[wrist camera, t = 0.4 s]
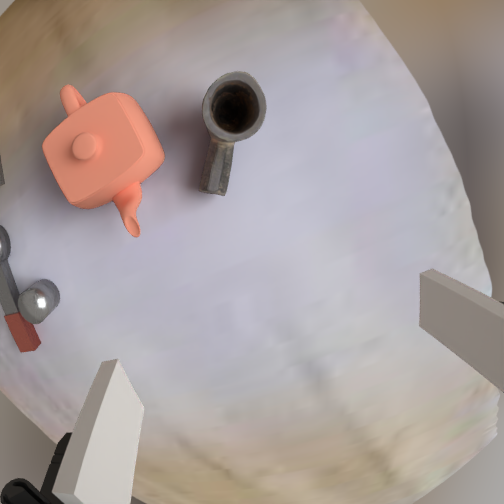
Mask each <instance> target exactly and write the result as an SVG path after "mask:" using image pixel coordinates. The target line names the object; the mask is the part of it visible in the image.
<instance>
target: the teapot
mask: <svg viewBox="0 0 504 504" xmlns="http://www.w3.org/2000/svg"><path fill="white" fill-rule="evenodd" d="M60 97H61V101H62V104H63V106H64V108H65V111H66V113H67V115H68V117H67V118H66V119H65V120H64V121H63V122H61V123H60V124H59V125H58V126H57V127H56V128H55V129H54V130H53V131H52V132H51V133H50V134H49V135H48V136H47V137H46V139H45V140H44V142H43V144H42V149H43V152H44V155H45V158H46V160H47V162H48V164H49V167H50V169H51V171H52V173H53V175H54V177H55V179H56V181H57V183H58V185H59V187H60V189H61V190H62V192H63V194H64V196H65V197H66V199H67V200H68V201H69V203H71V204H72V205H74V206H76V207H79V208H83V209H92V208H96V207H99V206H102V205H104V204H107V203H109V202H111V201H113V202H114V203H115V205H116V207H117V208H118V210H119V212H120V215H121V218H122V220H123V223H124V225H125V227H126V229H127V230H128V232H129V233H130V234H131V235H132V236H134V237H139V235H140V226H139V223H138V221H137V218H136V210H137V208H138V206H139V204H140V202H141V199H142V190H141V186H140V184H141V183H142V182H143V181H144V180H145V179H147V178H148V177H149V176H150V175H151V174H152V173H154V172H155V171H156V170H157V169H158V168H159V167H160V166H161V164H162V163H163V161H164V159H165V154H164V150H163V148H162V146H161V144H160V141H159V139H158V137H157V135H156V133H155V131H154V129H153V127H152V125H151V123H150V122H149V120H148V118H147V117H146V115H145V113H144V112H143V110H142V109H141V107H140V106H139V104H138V103H137V102H136V101H135V100H134V99H133V98H132V97H131V96H129V95H127V94H124V93H117V92H114V93H107V94H104V95H102V96H100V97H98V98H96V99H94V100H92V101H91V102H89V103H86V101H85V100H84V99H83V97H82V96H81V95H80V93H79V92H78V91H77V90H76V89H75V88H74V87H73V86H71V85H65V86H64V87H63V88H62V89H61V91H60Z"/></svg>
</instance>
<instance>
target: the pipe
mask: <svg viewBox="0 0 504 504" xmlns="http://www.w3.org/2000/svg"><path fill="white" fill-rule="evenodd" d="M265 114H266V100H265V96H264V93H263V91H262V89H261V87H260V86H259V84H258V82H257V81H256V79H255V78H254V77H252V76H251V75H250V74H248V73H246V72H232V73H227V74H225V75H223V76H221V77H220V78H219V79H217V80H216V81H215V82H214V83H213V84H212V85H211V86H210V87H209V89H208V91H207V93H206V95H205V97H204V99H203V104H202V116H203V120H204V123H205V124H206V126H207V129H208V133H209V135H210V137H211V140H210V145H209V149H208V153H207V157H206V161H205V165H204V170H203V174H202V178H201V182H200V187H199V191H200V192H204V193H211V194H217V195H222V196H225V194H226V191H227V187H228V182H229V176H230V171H231V165H232V157H233V150H234V143H235V142H237V141H241V140H244V139H247V138H249V137H251V136H252V135H254V134H255V133H256V132H257V131H258V130H259V129H260V127H261V126H262V124H263V121H264V119H265Z"/></svg>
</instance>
